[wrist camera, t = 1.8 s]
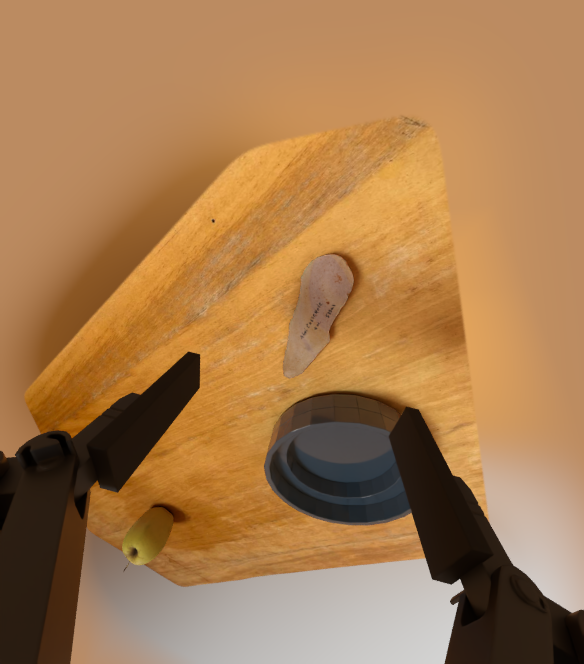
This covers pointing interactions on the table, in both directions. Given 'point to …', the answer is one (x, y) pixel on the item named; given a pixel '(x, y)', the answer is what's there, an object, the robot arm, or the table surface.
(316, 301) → the stone tool
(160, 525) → the apple
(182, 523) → the table surface
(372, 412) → the bowl
